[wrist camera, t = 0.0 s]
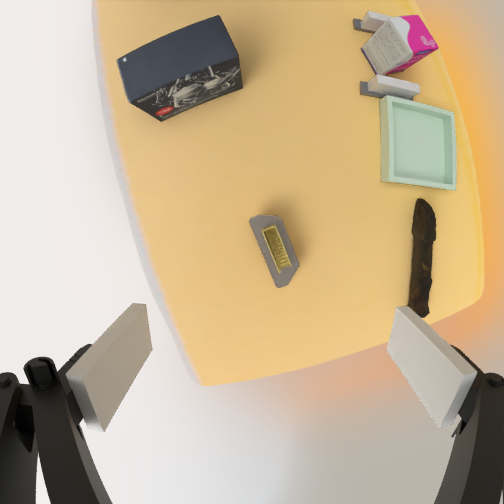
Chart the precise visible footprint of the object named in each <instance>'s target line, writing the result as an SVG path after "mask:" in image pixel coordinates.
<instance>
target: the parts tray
mask: <svg viewBox="0 0 504 504" xmlns="http://www.w3.org/2000/svg"><path fill="white" fill-rule="evenodd" d="M379 107H380V130H381V181H383V182H392V183H401V184H409V185H417V186H424V187H431V188H438V189H444V190H455V191H456V135H455V120H454V113H453V112H450V111H447V110H444V109H440V108H437V107H434V106H430V105H426V104H423V103H419V102H415V101H411V100H407V99H403V98H398V97H394V96H389V95H386V96H385V97H383V98H382V99H380V100H379Z"/></svg>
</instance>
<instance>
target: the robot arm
mask: <svg viewBox="0 0 504 504" xmlns="http://www.w3.org/2000/svg"><path fill="white" fill-rule="evenodd" d="M151 351H152V344H151V337H150V331H149V324H148V316H147V309H146V304H137V303H133V304H132V305H131V306H130V307H129V308H128V309H127V310H126V311H125V312H124V313H123V314H122V315H121V316H120V317H119V318H118V319H117V320H116V321H115V322H114V323H113V324H112V325H111V326H110V327H109V328H108V329H107V330H106V331H105V332H104V333H103V334H102V336H100V337H99V338H98V340H97V341H96V342H95V343H94V344H93V345H92V344H87V345H86V346H84V347H82V348H80V349H79V350H78V351H77V352H76V353H75V354H74V356H72V357H71V358H70V359H69V361H67V362H66V363H65V365H63V367H62V368H61V369H60V370H59V371H58V372H57V370H56V367H55V364H54V362H53V360H52V359H50V358H48V357H37V358H34V359H32V360H30V361H28V362H27V363H26V364H25V366H24V372H25V374H26V376H27V379H28V381H29V384H20V383H19V381H18V378H17V377H16V375H15V374H13V373H10V372H6V373H1V374H0V504H36V472H37V458H38V453H39V458H40V463H41V467H42V472H43V477H44V480H45V484H46V488H47V492H48V496H49V499H50V502H51V504H112V502H111V500H110V498H109V496H108V494H107V492H106V490H105V488H104V485H103V483H102V481H101V479H100V476H99V474H98V472H97V469H96V467H95V464H94V462H93V459H92V457H91V454H90V451H89V449H88V446H87V444H86V441H85V438H84V435H83V432H82V429H81V427H80V425H79V423H80V422H81V420H82V419H83V418H84V421H85V423H86V425H87V427H88V428H90V429H94V430H97V431H100V432H105V430H106V428H107V426H108V424H109V423H110V421H111V419H112V417H113V416H114V414H115V412H116V410H117V409H118V407H119V405H120V403H121V401H122V400H123V398H124V396H125V395H126V393H127V391H128V390H129V388H130V386H131V384H132V383H133V381H134V379H135V378H136V376H137V374H138V373H139V371H140V369H141V368H142V366H143V364H144V363H145V361H146V359H147V358H148V356H149V354H150V352H151ZM387 352H388V354H389V355H390V356H391V358H392V359H393V361H394V362H395V364H396V365H397V366H398V368H399V369H400V371H401V372H402V374H403V375H404V377H405V378H406V379H407V381H408V382H409V384H410V385H411V387H412V388H413V390H414V391H415V393H416V394H417V396H418V397H419V399H420V400H421V402H422V403H423V405H424V406H425V408H426V410H427V411H428V413H429V414H430V416H431V417H432V419H433V420H434V422H435V423H436V425H437V427H438V428H442V427H444V426H448V425H451V424H452V423H453V422H454V420H455V418H456V416H457V414H459V415H460V417H461V418H462V419H461V421H460V423H459V424H458V426H457V428H456V430H455V431H454V433H453V434H452V436H451V437H454V435H455V434H456V437H455V441H454V445H453V449H452V452H451V456H450V459H449V463H448V466H447V469H446V472H445V476H444V478H443V481H442V484H441V487H440V490H439V492H438V495H437V497H436V500H435V503H434V504H499V503H500V497H501V492H502V490H503V504H504V378H503V377H502V376H500V375H499V374H495V373H486V374H484V373H483V372H482V371H481V370H480V369H479V368H478V367H477V366H476V365H475V364H474V363H473V362H472V361H471V360H470V359H469V358H468V357H467V356H465V354H464V353H463V352H462V351H461V350H460V349H458V348H456V347H454V346H453V345H450V344H449V343H447V342H446V341H445V340H444V339H443V338H442V337H441V336H440V335H439V334H438V333H437V332H436V331H435V330H434V329H433V328H431V327H430V326H429V325H428V324H427V323H426V322H425V321H424V320H423V319H422V318H421V317H419V316H418V315H417V314H416V313H415V312H414V311H413V310H412V309H411V308H409V307H408V306H402V307H396V310H395V315H394V320H393V325H392V330H391V334H390V338H389V343H388V347H387Z"/></svg>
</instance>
